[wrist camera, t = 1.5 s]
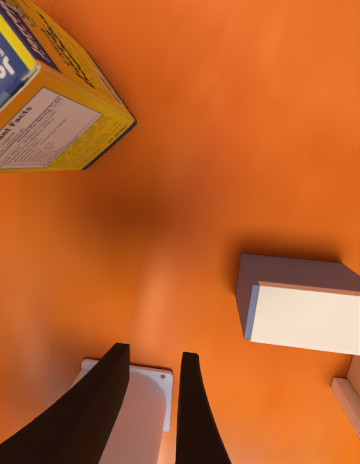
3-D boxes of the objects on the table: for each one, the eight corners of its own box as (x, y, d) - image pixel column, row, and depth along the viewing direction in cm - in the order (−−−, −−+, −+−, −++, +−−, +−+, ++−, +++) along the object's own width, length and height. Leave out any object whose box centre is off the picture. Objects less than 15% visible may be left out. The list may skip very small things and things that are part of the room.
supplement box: (88, 51, 17) (-107, -135, 6) (139, 123, 18) (43, 64, 7) (34, 107, 18) (-196, 31, 8) (84, 171, 19) (-61, 179, 9)
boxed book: (234, 295, 21) (244, 340, 16) (241, 252, 20) (253, 284, 14) (329, 306, 20) (373, 357, 15) (341, 262, 19) (393, 299, 14)
